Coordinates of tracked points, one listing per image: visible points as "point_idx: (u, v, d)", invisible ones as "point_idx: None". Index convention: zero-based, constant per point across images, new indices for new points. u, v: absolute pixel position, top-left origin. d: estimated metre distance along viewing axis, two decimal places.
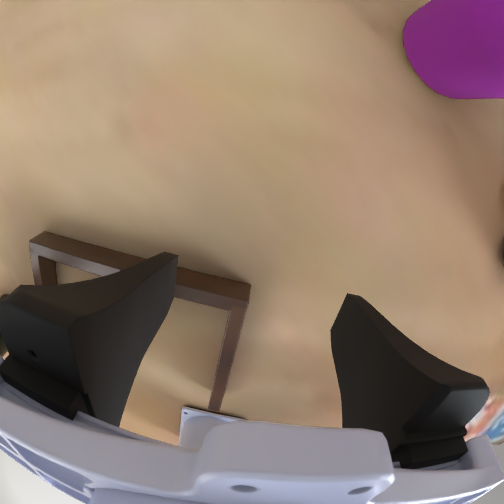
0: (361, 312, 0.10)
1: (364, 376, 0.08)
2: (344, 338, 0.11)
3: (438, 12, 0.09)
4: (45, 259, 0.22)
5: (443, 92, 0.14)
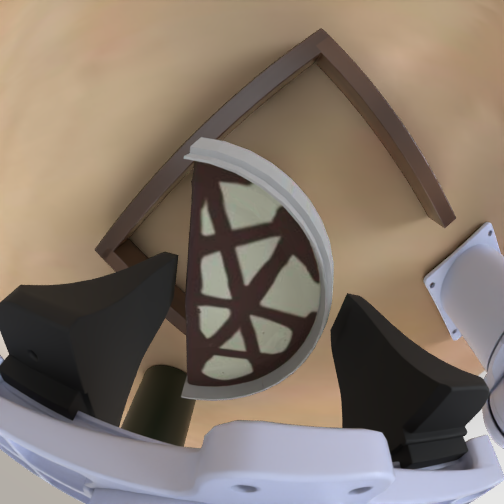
0: (361, 312, 0.10)
1: (364, 376, 0.08)
2: (343, 338, 0.11)
3: None
4: (128, 254, 0.20)
5: None
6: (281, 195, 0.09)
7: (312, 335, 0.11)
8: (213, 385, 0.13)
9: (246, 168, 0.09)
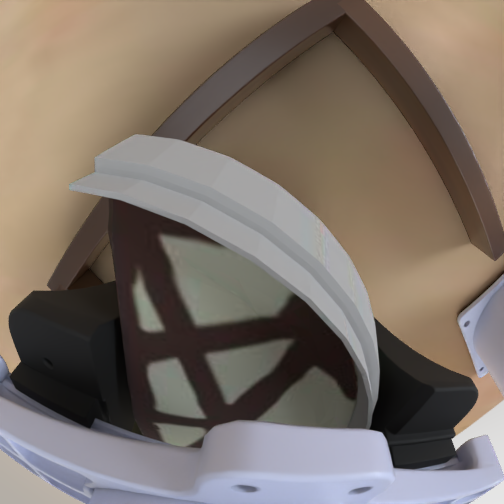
0: None
1: None
2: None
3: None
4: None
5: None
6: (301, 268, 0.04)
7: None
8: None
9: (218, 205, 0.04)
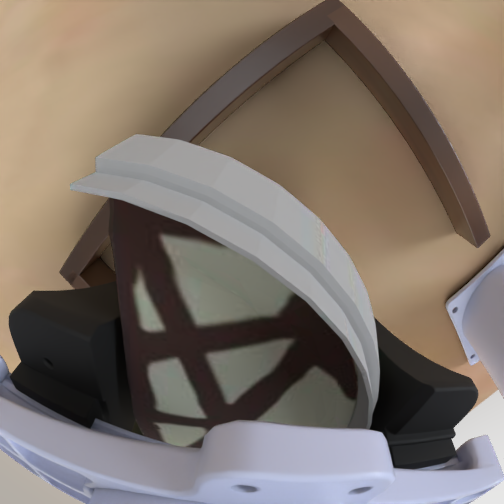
0: None
1: None
2: None
3: None
4: (97, 277, 0.16)
5: None
6: (302, 268, 0.04)
7: None
8: None
9: (219, 205, 0.04)
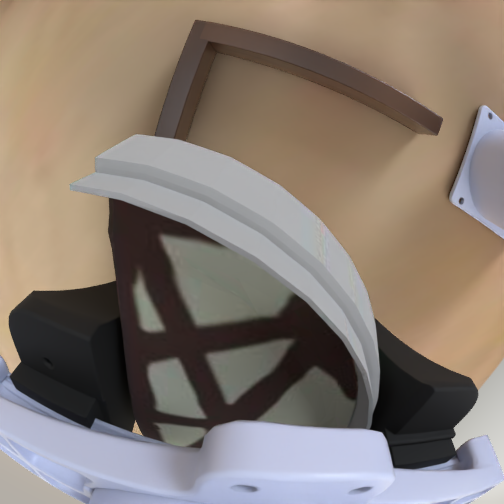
0: None
1: None
2: None
3: None
4: None
5: None
6: (301, 268, 0.04)
7: None
8: None
9: (219, 205, 0.04)
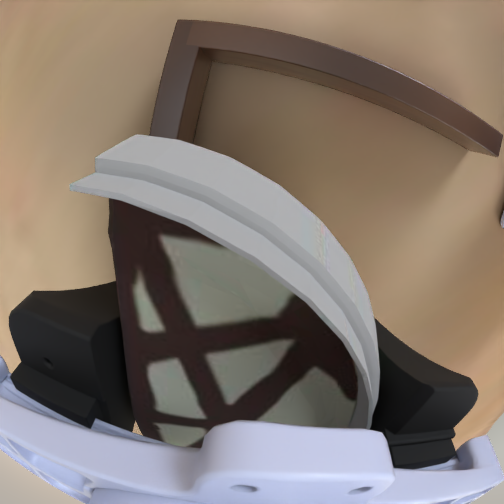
0: None
1: None
2: None
3: None
4: None
5: None
6: (301, 268, 0.04)
7: None
8: None
9: (218, 205, 0.04)
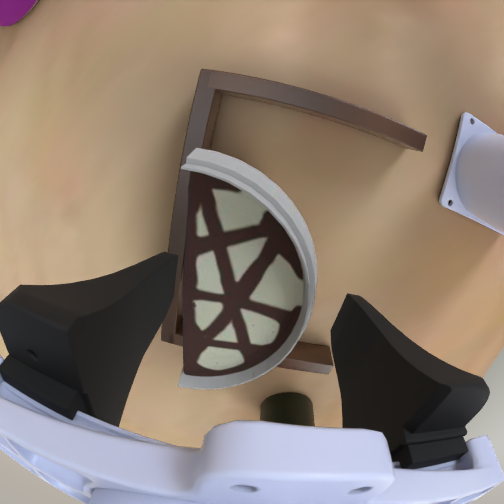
0: (361, 312, 0.10)
1: (364, 376, 0.08)
2: (344, 338, 0.11)
3: None
4: None
5: None
6: (267, 201, 0.11)
7: (297, 327, 0.13)
8: (207, 375, 0.15)
9: (236, 177, 0.10)
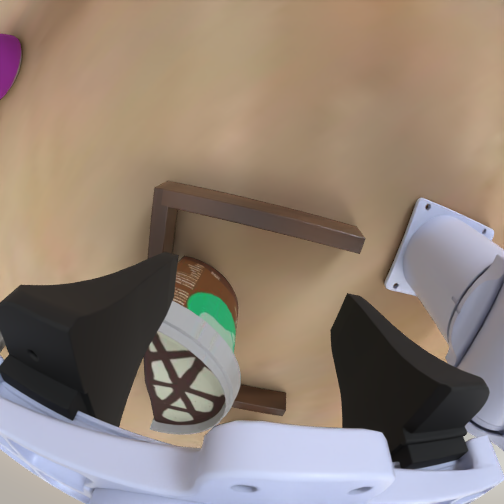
0: (361, 312, 0.10)
1: (364, 377, 0.08)
2: (344, 338, 0.11)
3: None
4: None
5: (12, 64, 0.15)
6: (190, 340, 0.14)
7: (224, 407, 0.17)
8: (170, 423, 0.19)
9: (168, 324, 0.14)
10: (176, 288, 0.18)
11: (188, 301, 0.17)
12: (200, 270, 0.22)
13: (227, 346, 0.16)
